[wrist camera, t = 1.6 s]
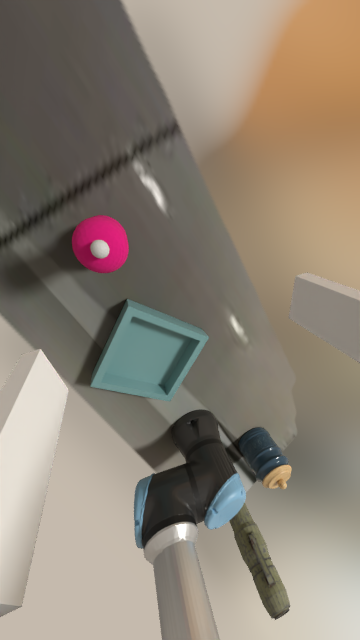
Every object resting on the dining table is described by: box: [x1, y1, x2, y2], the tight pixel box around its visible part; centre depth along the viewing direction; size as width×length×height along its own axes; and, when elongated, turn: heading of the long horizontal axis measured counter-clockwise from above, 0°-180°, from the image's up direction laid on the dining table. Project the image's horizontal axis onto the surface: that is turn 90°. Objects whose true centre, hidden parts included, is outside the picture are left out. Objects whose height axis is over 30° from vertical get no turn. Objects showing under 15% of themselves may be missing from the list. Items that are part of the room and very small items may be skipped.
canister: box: [239, 427, 291, 489], centre depth 72 cm, size 13×13×18 cm
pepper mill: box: [72, 215, 129, 273], centre depth 28 cm, size 7×7×20 cm
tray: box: [90, 299, 209, 401], centre depth 47 cm, size 20×20×4 cm
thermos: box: [229, 502, 290, 620], centre depth 70 cm, size 9×12×35 cm
